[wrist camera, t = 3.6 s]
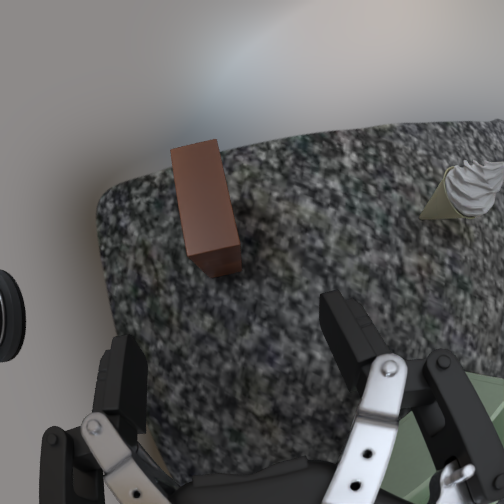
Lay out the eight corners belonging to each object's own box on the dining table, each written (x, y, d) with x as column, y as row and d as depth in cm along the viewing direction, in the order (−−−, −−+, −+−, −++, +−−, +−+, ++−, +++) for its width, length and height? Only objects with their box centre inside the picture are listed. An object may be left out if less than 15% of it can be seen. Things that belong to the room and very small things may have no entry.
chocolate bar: (210, 278, 27) (187, 256, 16) (195, 207, 28) (169, 149, 17) (242, 271, 27) (240, 244, 16) (226, 200, 28) (216, 138, 17)
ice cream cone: (400, 233, 28) (498, 176, 13) (403, 190, 29) (486, 119, 14) (436, 245, 28) (535, 202, 13) (437, 204, 29) (524, 147, 14)
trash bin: (391, 521, 21) (425, 562, 11) (346, 458, 23) (386, 509, 13) (480, 446, 23) (527, 466, 13) (455, 369, 25) (518, 380, 15)
